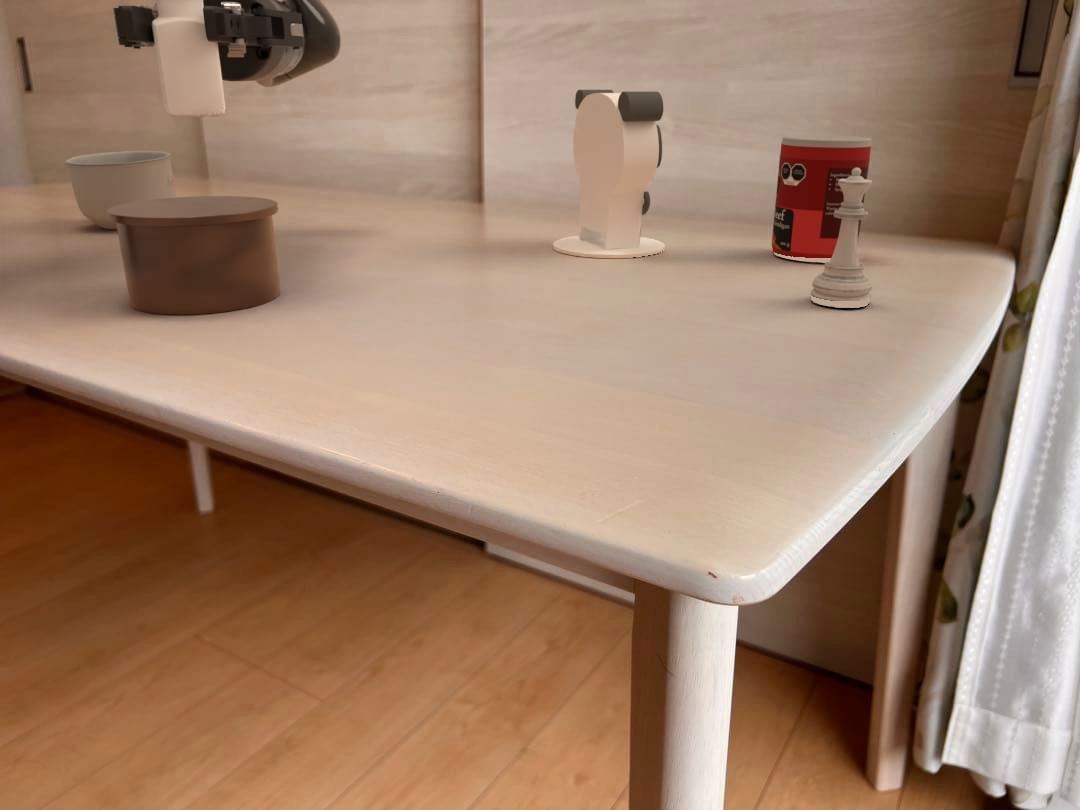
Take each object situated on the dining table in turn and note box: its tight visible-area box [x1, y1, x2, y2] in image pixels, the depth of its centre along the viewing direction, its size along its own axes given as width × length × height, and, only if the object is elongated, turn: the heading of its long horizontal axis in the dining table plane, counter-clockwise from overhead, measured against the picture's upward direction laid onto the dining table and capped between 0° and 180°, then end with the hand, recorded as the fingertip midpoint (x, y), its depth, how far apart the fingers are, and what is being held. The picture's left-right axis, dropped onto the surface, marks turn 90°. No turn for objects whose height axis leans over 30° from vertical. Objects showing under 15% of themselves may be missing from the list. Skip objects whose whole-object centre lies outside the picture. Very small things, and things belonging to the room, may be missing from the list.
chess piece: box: [810, 168, 873, 301], centre depth 64 cm, size 4×4×10 cm
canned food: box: [771, 134, 872, 258], centre depth 81 cm, size 8×8×11 cm
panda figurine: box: [552, 89, 666, 259], centre depth 84 cm, size 12×11×15 cm
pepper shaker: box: [152, 0, 227, 118], centre depth 60 cm, size 4×4×10 cm
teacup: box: [64, 150, 176, 231], centre depth 99 cm, size 14×11×8 cm
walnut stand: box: [107, 195, 281, 316], centre depth 66 cm, size 12×12×7 cm
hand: (169, 23), depth 57 cm, fingers closed on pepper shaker, 4 cm apart
